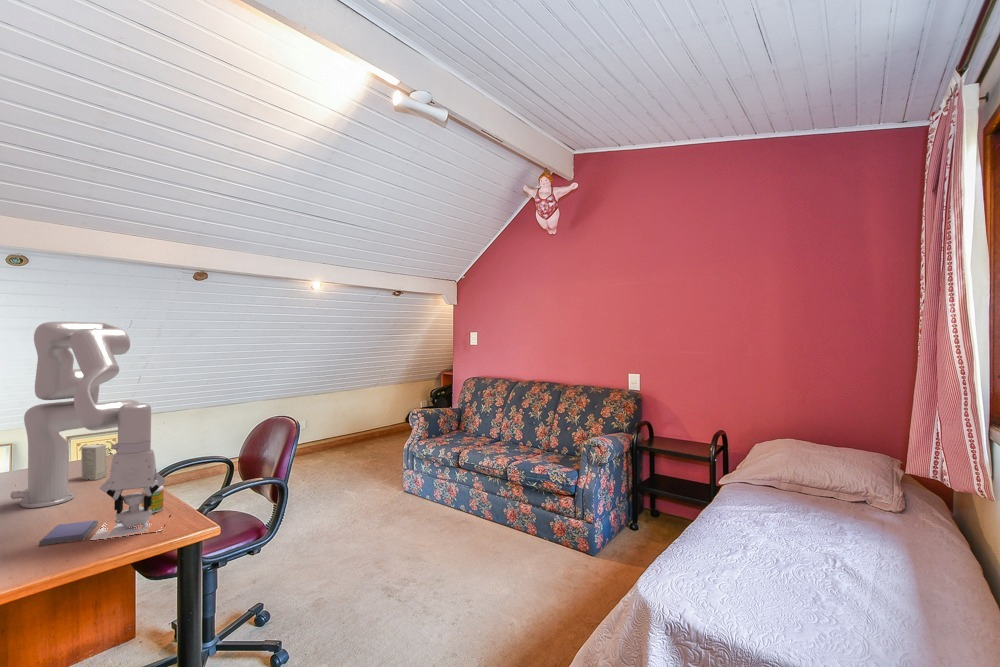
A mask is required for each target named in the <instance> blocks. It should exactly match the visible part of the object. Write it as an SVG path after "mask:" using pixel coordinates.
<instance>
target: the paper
mask: <svg viewBox="0 0 1000 667" xmlns="http://www.w3.org/2000/svg"><path fill="white" fill-rule="evenodd" d="M148 522H149V521H148ZM104 524H106V523H105V522H104V523H103V524H102V525H101V527H103V526H105V525H104ZM106 525H107V524H106ZM141 525H143V526H142V527H141V529H140V530H139V529H138V526H137V529H136V527H132V528H131V527H130V528H127V527H126V526H124V525H122V524H117V526H115V527H114V529H113V530H112V531H111V532H110V534H109V535H108V533H109V532H108V530H106V528H104V527H103V528H101V527H100V528H101V529H100V528H99V529H98V530H97V531H96V532H95V534H96V535H95V534H94V535H93V536H92V537H91V538H90V539H89V540H94V539H95V538H97V541H99V540H98V539H104V540H108V539H107V538H111V539H115V538H114V537H113V538H112V537H111V536H113V535H114V536H116V535H117V537H119V538H123V537H122V536H125V534H126V537H130V536H129V535H128V536H127V534H129V533H130V534H131V533H136V532H137V533H138V532H143V531H146V530H147V531H148V529H145V528H146V527H148V523H147V522H146V523H143V524H141ZM151 525H152V524H151ZM105 527H106V526H105ZM139 527H140V526H139ZM149 527H150V523H149ZM134 528H135V529H134ZM143 528H144V529H143ZM161 528H162V527H161ZM104 529H105V530H104ZM107 529H108V528H107ZM99 530H100V531H99ZM161 530H162V529H161ZM161 530H158V531H161ZM109 531H110V530H109ZM115 531H116V532H115ZM107 532H108V533H107ZM143 533H144V532H143ZM156 533H158V532H157V531H156ZM97 534H99V535H97ZM120 534H121V535H120ZM118 535H119V536H118ZM131 535H132V534H131ZM133 535H134V534H133ZM141 535H143V534H142V533H141ZM109 536H110V537H109ZM134 536H135V535H134ZM93 538H94V539H93ZM95 540H96V539H95Z"/></svg>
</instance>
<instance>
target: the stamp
mask: <svg viewBox="0 0 1000 667" xmlns="http://www.w3.org/2000/svg"><path fill="white" fill-rule="evenodd" d="M122 497H123V504H125V505H127V506H128V509H125V510H124V509H123V510H122V511H121V513H119V514H117V513H116V514H115V518H116V519H114V520H115V523H116V524H122V525H124V526H126V527H127V528H129V527H133V526H137V525H140V524H143V523H146V522H147V520H148V519H149V518H150V517H151V516H153V513H152V511H151V510H147V511H145V510H144V507H142V503H143V502H144V497H145V495H144V494H142V492H133V493H130V494H124V495H122ZM118 520H119V521H118Z"/></svg>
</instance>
